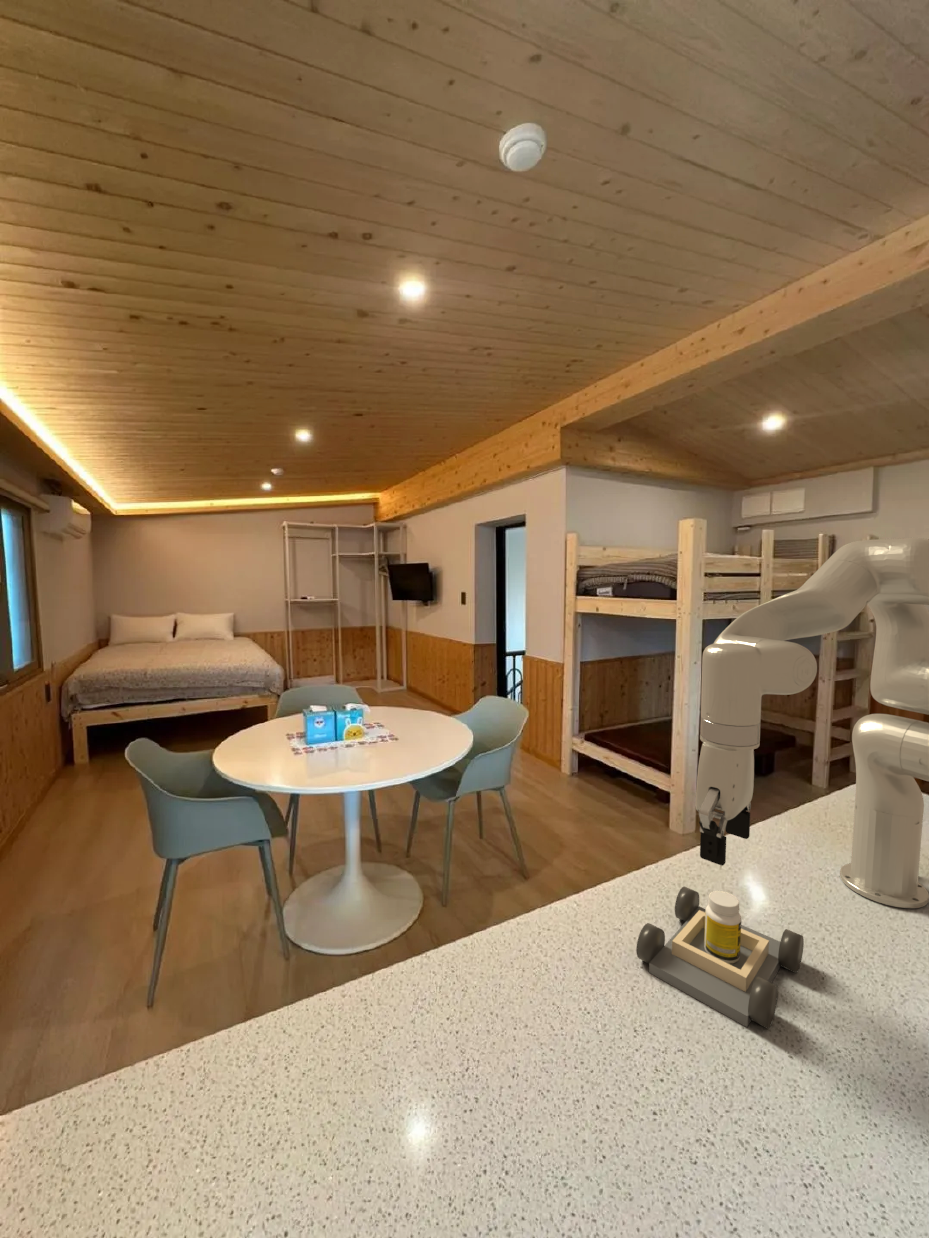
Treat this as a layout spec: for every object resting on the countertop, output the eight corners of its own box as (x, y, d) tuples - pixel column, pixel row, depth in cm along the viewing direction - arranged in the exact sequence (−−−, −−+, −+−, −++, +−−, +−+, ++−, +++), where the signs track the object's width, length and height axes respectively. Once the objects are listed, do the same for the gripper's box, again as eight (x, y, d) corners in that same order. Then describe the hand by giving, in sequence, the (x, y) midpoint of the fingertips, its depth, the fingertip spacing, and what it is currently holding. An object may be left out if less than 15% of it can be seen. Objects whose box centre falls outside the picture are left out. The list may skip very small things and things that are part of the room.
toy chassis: (686, 909, 90) (687, 881, 90) (802, 961, 78) (804, 929, 78) (635, 965, 77) (636, 932, 77) (764, 1037, 65) (766, 999, 65)
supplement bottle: (744, 966, 75) (746, 910, 74) (708, 962, 76) (710, 906, 75) (734, 943, 80) (736, 890, 79) (700, 939, 81) (702, 886, 80)
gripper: (723, 714, 83) (720, 818, 85) (676, 740, 71) (673, 861, 73) (777, 723, 78) (772, 834, 80) (736, 753, 66) (731, 884, 68)
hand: (725, 847), depth 76 cm, fingers open, 9 cm apart
